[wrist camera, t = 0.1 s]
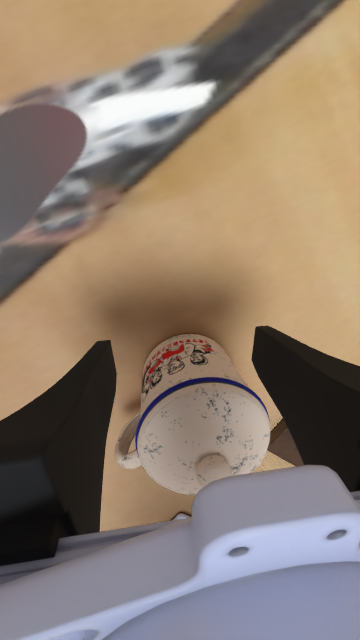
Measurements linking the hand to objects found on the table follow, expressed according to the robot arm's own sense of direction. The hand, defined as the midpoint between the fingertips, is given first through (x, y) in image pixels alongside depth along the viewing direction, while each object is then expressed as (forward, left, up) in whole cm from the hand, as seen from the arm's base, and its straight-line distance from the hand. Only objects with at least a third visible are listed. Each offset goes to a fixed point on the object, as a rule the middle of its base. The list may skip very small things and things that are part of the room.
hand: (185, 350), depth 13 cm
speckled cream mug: (-6, -5, -11) cm, 14 cm away
